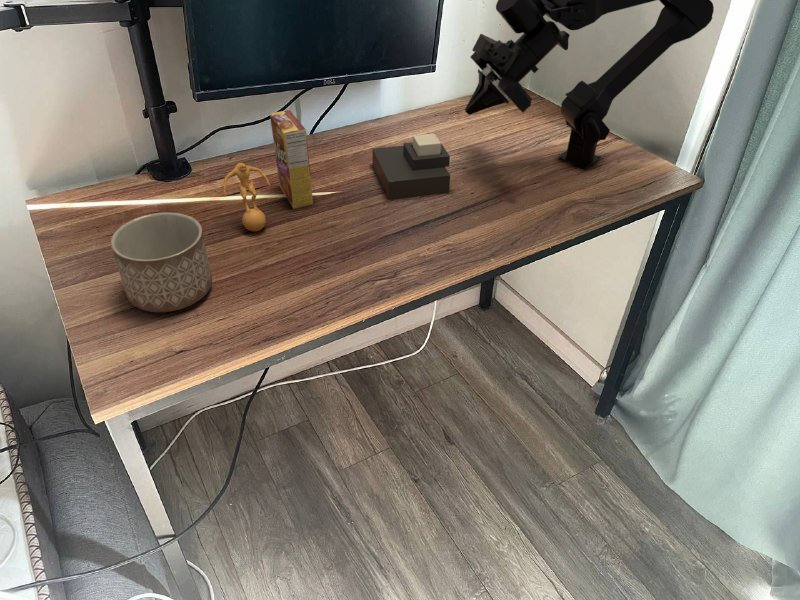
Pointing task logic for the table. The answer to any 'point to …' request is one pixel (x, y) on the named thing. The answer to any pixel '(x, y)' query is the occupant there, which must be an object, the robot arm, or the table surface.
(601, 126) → the robot arm
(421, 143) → the cream block
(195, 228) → the planter
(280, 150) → the candy box
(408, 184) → the stepped base
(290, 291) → the table surface
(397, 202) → the table surface
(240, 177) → the figure on ball
